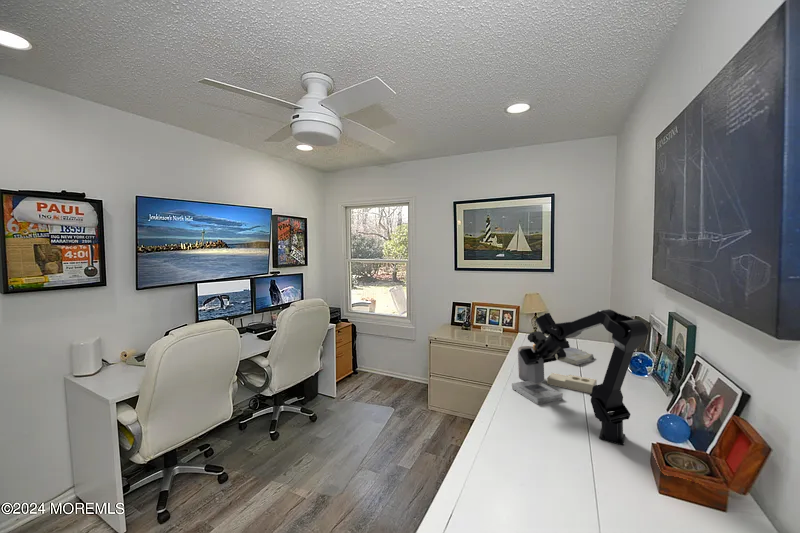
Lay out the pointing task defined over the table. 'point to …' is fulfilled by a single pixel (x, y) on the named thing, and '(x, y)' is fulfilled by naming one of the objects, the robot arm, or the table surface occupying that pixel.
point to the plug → (536, 370)
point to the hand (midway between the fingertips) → (533, 363)
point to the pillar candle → (522, 365)
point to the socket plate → (537, 392)
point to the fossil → (576, 356)
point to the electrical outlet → (572, 382)
